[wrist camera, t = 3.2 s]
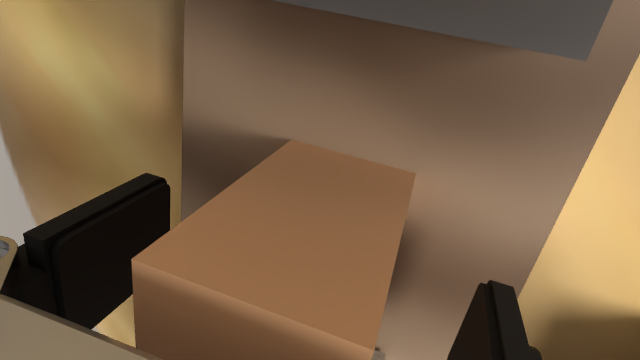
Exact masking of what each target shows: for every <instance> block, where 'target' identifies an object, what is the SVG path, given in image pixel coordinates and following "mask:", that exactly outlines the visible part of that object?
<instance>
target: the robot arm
mask: <svg viewBox="0 0 640 360" xmlns="http://www.w3.org/2000/svg"><path fill="white" fill-rule="evenodd" d="M169 231H170V186H169V185H168V184H167V182H166V180H165V179H164V178H162V177H158V176H155V175H152V174H149V173H145V174H142V175H140V176H138V177H136V178H134V179H132V180H130V181H128V182H126V183H124V184H122V185H120V186H118V187H116V188H114V189H112V190H110V191H108V192H106V193H104V194H102V195H100V196H98V197H96V198H94V199H92V200H90V201H88V202H86V203H84V204H82V205H80V206H78V207H76V208H74V209H72V210H70V211H68V212H66V213H64V214H62V215H60V216H58V217H56V218H53V219H51V220H49V221H47V222H45V223H43V224H41V225H39V226H37V227H35V228H33V229H31V230H29V231H27V232H25V233H23V236H24V241H25V244H23V245H21V246H19V247H18V245H17V243H16V242H15V241H14V240H13V239H11V238H8V237H3V236H0V360H163V359H161V358H158V357H156V356H153V355H151V354H149V353H146V352H144V351H141V350H139V349H137V348H134V347H132V346H129V345H127V344H124V343H122V342H120V341H117V340H115V339H112V338H110V337H107V336H105V335H103V334H100V333H98V332H95V331H93V330H91V329H93V328H94V327H95V326H96V325H97V324H98V323H100V322H101V321H102V320H103V319H104V318H105V317H107V316H108V315H109V314H110V313H111V312H112V311H113V310H115V309H116V308H117V307H118V306H119V305H120V304H122V303H123V302H124V301H125V300H126V299H127V298H129V297H130V296H131V295H132V294H133V280H132V261H131V259H132V258H134V257H135V256H136V255H138V254H139V253H140V252H142V251H143V250H144V249H146V248H147V247H148V246H150V245H151V244H153V243H154V242H155V241H157V240H158V239H159V238H161V237H162V236H163V235H165V234H166V233H167V232H169ZM447 360H542V357H541V355H540V352H539V351H538V350H537V349H536V348H534V347H531V346H529V344H528V340H527V336H526V333H525V329H524V325H523V321H522V317H521V313H520V309H519V305H518V301H517V297H516V293H515V290H514V287H512V286H509V285H506V284H503V283H500V282H496V281H493V280H489V281H488V282H487V284H484V283H480V284H479V285H478V287H477V289H476V292H475V294H474V296H473V299H472V301H471V303H470V306H469V308H468V310H467V313H466V315H465V317H464V320H463V322H462V324H461V327H460V329H459V331H458V334H457V336H456V338H455V341H454V343H453V345H452V348H451V350H450V352H449V355H448V358H447Z"/></svg>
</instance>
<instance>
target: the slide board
mask: <svg viewBox="0 0 640 360" xmlns="http://www.w3.org/2000/svg"><path fill="white" fill-rule="evenodd" d="M639 54H640V0H185V1H184V65H183V129H182V193H181V222H182V221H183V220H185V219H186V218H187V217H189V216H190V215H191V214H193V213H194V212H195V211H197V210H198V209H199V208H201V207H202V206H203V205H205V204H206V203H207V202H209V201H210V200H211V199H213V198H214V197H215V196H217V195H218V194H219V193H221V192H222V191H223V190H225V189H226V188H228V187H229V186H230V185H232V184H233V183H234V182H236V181H237V180H238V179H240V178H241V177H242V176H244V175H245V174H246V173H248V172H249V171H250V170H252V169H253V168H254V167H256V166H257V165H258V164H260V163H261V162H262V161H264V160H265V159H266V158H268V157H269V156H270V155H272V154H273V153H274V152H276V151H277V150H278V149H280V148H281V147H282V146H284V145H285V144H286V143H288V142H289V141H290V140H295V141H299V142H303V143H306V144H310V145H314V146H317V147H321V148H325V149H328V150H332V151H336V152H339V153H343V154H347V155H350V156H354V157H358V158H361V159H365V160H369V161H372V162H376V163H380V164H383V165H387V166H391V167H394V168H398V169H402V170H405V171H409V172H413V173H416V177H415V181H414V185H413V190H412V194H411V198H410V202H409V206H408V211H407V215H406V219H405V223H404V227H403V232H402V236H401V240H400V244H399V248H398V253H397V257H396V261H395V265H394V269H393V274H392V278H391V282H390V286H389V290H388V295H387V299H386V303H385V307H384V312H383V316H382V320H381V324H380V328H379V333H378V337H377V341H376V345H375V349H374V350H377V351H380V352H382V353H385V354H386V355H385V360H447V358H448V355H449V352H450V350H451V348H452V345H453V343H454V341H455V338H456V336H457V334H458V331H459V329H460V327H461V324H462V322H463V320H464V317H465V315H466V313H467V310H468V308H469V306H470V303H471V301H472V299H473V296H474V294H475V292H476V289H477V287H478V285H479V284H480V283H484V284H487V282H488V281H489V280H493V281H496V282H500V283H503V284H506V285H509V286H512V287H514V290H515V293H516V297H517V298H518V296H519V294H520V292H521V290H522V288H523V286H524V284H525V282H526V280H527V278H528V276H529V274H530V272H531V270H532V268H533V266H534V264H535V262H536V260H537V258H538V256H539V254H540V252H541V250H542V248H543V246H544V244H545V242H546V240H547V238H548V236H549V234H550V232H551V230H552V228H553V226H554V224H555V222H556V220H557V218H558V216H559V214H560V212H561V210H562V208H563V206H564V204H565V202H566V200H567V198H568V196H569V194H570V192H571V190H572V188H573V186H574V184H575V182H576V180H577V178H578V176H579V174H580V172H581V170H582V168H583V166H584V164H585V162H586V160H587V158H588V156H589V154H590V152H591V150H592V148H593V146H594V144H595V142H596V140H597V138H598V136H599V134H600V132H601V130H602V128H603V126H604V124H605V122H606V120H607V118H608V116H609V114H610V112H611V110H612V108H613V106H614V104H615V102H616V100H617V98H618V96H619V94H620V92H621V90H622V88H623V86H624V84H625V82H626V80H627V78H628V76H629V74H630V72H631V70H632V68H633V66H634V64H635V62H636V60H637V58H638V56H639Z"/></svg>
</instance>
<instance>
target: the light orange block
mask: <svg viewBox="0 0 640 360" xmlns="http://www.w3.org/2000/svg"><path fill="white" fill-rule="evenodd" d="M415 177H416V173H413V172H409V171H405V170H402V169H398V168H394V167H391V166H387V165H383V164H380V163H376V162H372V161H369V160H365V159H361V158H358V157H354V156H350V155H347V154H343V153H339V152H336V151H332V150H328V149H325V148H321V147H317V146H314V145H310V144H306V143H303V142H299V141H295V140H290V141H289V142H288V143H286V144H285V145H284V146H282V147H281V148H280V149H278V150H277V151H276V152H274V153H273V154H272V155H270V156H269V157H268V158H266V159H265V160H264V161H262V162H261V163H260V164H258V165H257V166H256V167H254V168H253V169H252V170H250V171H249V172H248V173H246V174H245V175H244V176H242V177H241V178H240V179H238V180H237V181H236V182H234V183H233V184H232V185H230V186H229V187H228V188H226V189H225V190H223V191H222V192H221V193H219V194H218V195H217V196H215V197H214V198H213V199H211V200H210V201H209V202H207V203H206V204H205V205H203V206H202V207H201V208H199V209H198V210H197V211H195V212H194V213H193V214H191V215H190V216H189V217H187V218H186V219H185V220H183V221H182V222H181V223H179V224H178V225H177V226H175V227H174V228H173V229H171V230H170V231H169V232H167V233H166V234H165V235H163V236H162V237H161V238H159V239H158V240H157V241H155V242H154V243H153V244H151V245H150V246H148V247H147V248H146V249H144V250H143V251H142V252H140V253H139V254H138V255H136V256H135V257H134V258H132V259H131V261H132V280H133V300H134V320H135V339H136V348H137V349H139V350H141V351H144V352H146V353H149V354H151V355H153V356H156V357H158V358H161V359H163V360H371V359H372V356H373V353H374V349H375V345H376V341H377V337H378V333H379V328H380V324H381V320H382V316H383V312H384V307H385V303H386V299H387V295H388V290H389V286H390V282H391V278H392V274H393V269H394V265H395V261H396V257H397V253H398V248H399V244H400V240H401V236H402V232H403V227H404V223H405V219H406V215H407V211H408V206H409V202H410V198H411V194H412V190H413V185H414V181H415Z"/></svg>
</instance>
